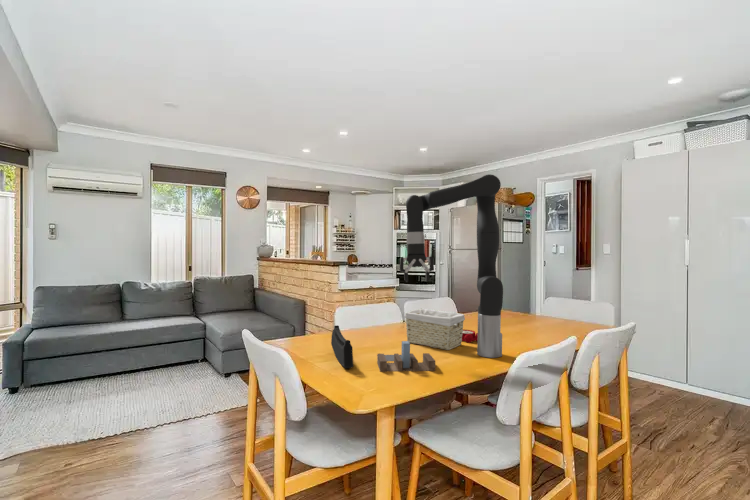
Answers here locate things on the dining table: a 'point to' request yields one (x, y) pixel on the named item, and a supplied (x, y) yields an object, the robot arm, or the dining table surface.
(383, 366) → the rack
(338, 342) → the magazine
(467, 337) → the alarm clock
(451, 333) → the storage basket
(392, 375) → the dining table surface
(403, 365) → the tile
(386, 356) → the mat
